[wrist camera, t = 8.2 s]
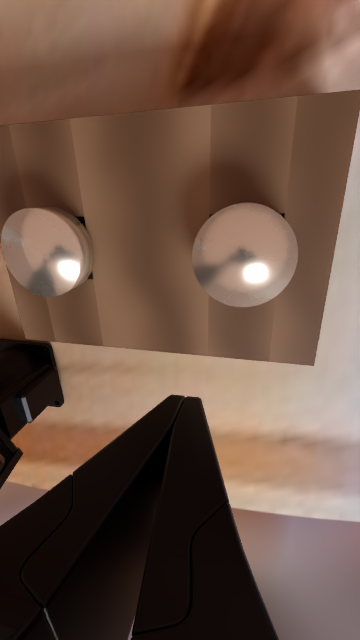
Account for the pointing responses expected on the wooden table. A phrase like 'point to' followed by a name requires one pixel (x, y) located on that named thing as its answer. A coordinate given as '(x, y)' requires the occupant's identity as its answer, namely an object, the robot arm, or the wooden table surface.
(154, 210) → the block
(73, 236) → the far plunger
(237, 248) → the near plunger
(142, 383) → the wooden table surface
